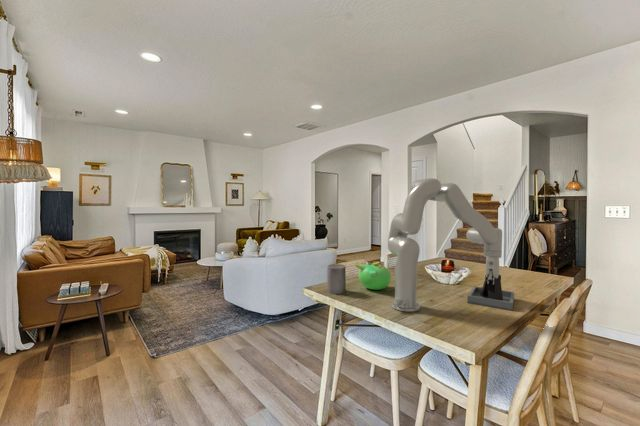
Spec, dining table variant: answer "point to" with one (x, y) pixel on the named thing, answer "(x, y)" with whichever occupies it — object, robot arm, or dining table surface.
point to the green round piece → (374, 276)
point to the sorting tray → (477, 299)
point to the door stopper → (490, 294)
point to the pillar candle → (336, 279)
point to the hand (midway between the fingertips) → (491, 290)
